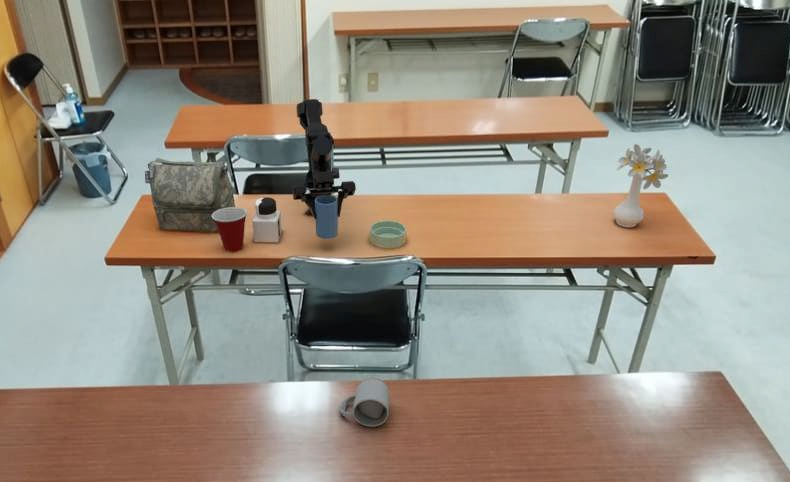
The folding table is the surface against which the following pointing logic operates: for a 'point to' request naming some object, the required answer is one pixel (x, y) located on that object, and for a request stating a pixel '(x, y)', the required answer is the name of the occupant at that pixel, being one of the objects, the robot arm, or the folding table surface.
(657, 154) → the flower vase
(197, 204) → the lunch bag
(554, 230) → the folding table surface
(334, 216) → the tumbler
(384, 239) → the bowl
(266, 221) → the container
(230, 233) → the plastic cup
